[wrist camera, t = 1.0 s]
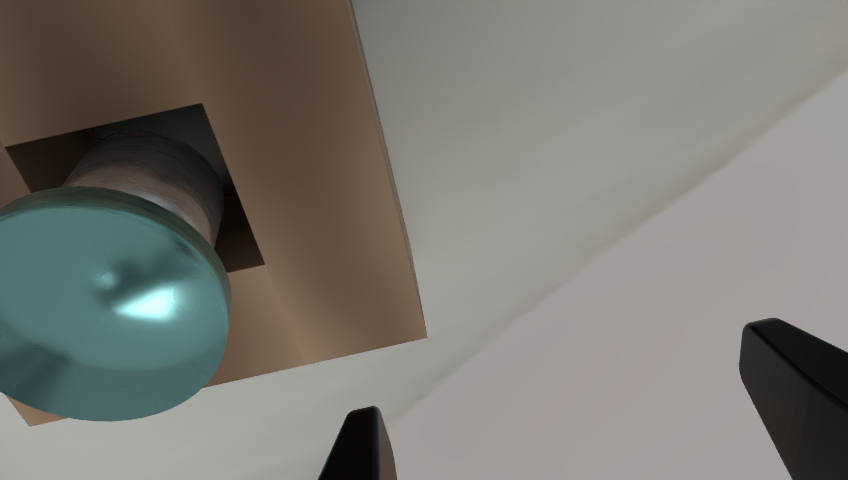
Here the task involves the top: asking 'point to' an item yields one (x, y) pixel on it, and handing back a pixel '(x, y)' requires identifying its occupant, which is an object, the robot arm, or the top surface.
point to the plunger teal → (115, 283)
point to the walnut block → (233, 155)
